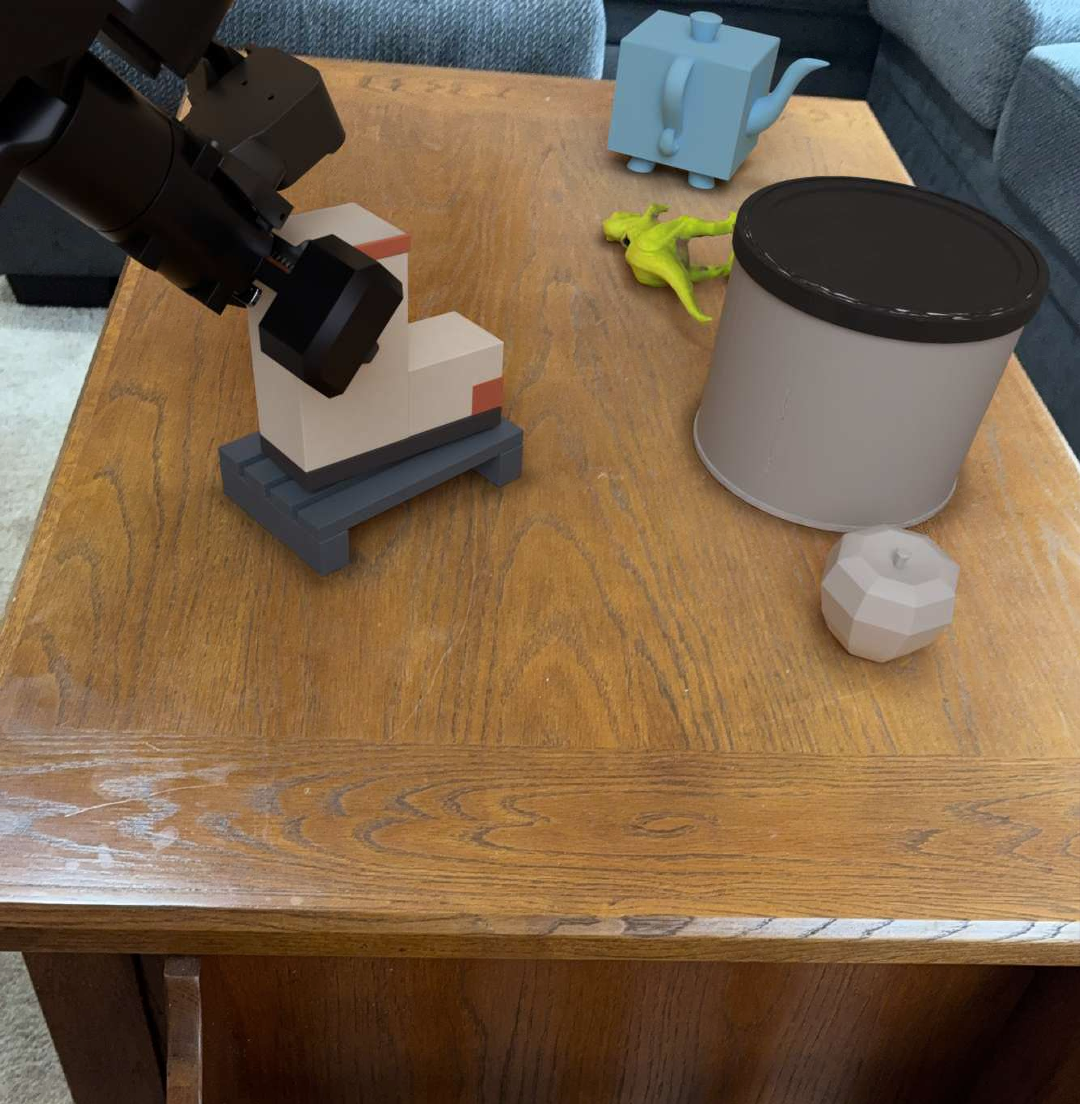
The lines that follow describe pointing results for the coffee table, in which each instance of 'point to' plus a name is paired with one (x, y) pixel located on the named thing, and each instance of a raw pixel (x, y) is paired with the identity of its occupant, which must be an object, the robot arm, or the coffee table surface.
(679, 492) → the coffee table surface
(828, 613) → the apple
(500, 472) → the grey shipping pallet
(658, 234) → the dinosaur figurine
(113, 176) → the robot arm
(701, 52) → the teapot
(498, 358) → the cream boot
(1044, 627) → the coffee table surface
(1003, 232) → the container
